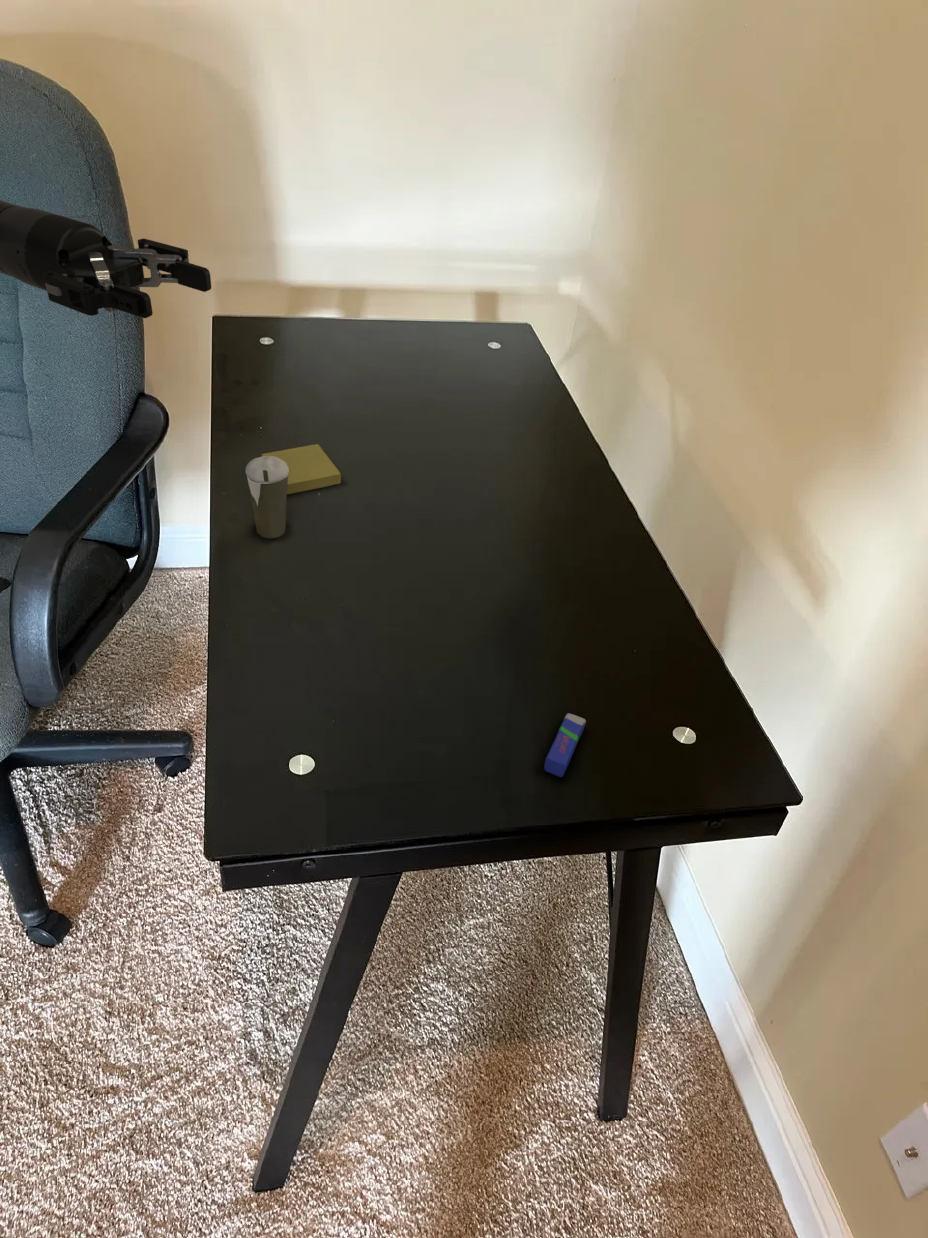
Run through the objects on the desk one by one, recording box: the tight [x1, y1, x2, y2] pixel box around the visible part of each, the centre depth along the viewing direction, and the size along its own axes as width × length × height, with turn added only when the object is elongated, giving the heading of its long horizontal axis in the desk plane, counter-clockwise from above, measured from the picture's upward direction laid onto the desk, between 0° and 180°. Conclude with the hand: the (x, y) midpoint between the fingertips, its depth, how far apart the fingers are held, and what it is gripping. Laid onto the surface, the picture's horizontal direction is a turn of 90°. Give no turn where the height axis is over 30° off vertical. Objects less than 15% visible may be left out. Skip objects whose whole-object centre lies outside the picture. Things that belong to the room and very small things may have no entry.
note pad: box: [260, 443, 342, 496], centre depth 103 cm, size 8×8×2 cm
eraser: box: [543, 712, 587, 778], centre depth 74 cm, size 2×6×2 cm, turn 157°
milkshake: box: [245, 456, 289, 540], centre depth 91 cm, size 4×5×10 cm
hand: (180, 293), depth 80 cm, fingers open, 8 cm apart
